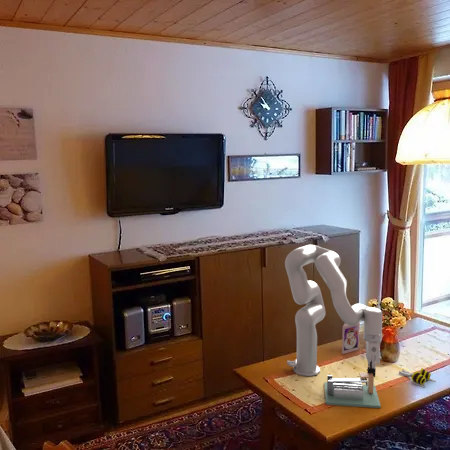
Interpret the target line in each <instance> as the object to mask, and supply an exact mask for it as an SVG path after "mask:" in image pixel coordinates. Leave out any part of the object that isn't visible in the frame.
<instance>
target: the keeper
mask: <svg viewBox="0 0 450 450" xmlns="http://www.w3.org/2000/svg"><path fill="white" fill-rule="evenodd" d="M359 378H367V381H368V392H369V393H373V385H375V384H374V381H375V379H374V378H375V377H374V376H373V373H367V372H363V371H361V372H359Z"/></svg>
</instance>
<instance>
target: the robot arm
mask: <svg viewBox="0 0 450 450" xmlns="http://www.w3.org/2000/svg"><path fill="white" fill-rule="evenodd" d="M284 260H285V261H284V267H285V271H286V273H287V274H286V275H287V277H288V282H289V288H290V290H291V294H292V298H293V301H294V302H295V303H296V304H297V305H300V306H302V305H305V306H303V307H300V309H298V310H297V311H296V314H295V317H294V321H295V322H294V323H295V328H296V358H295V360H287V361H286V365H287V366H289V367H293V368H292V371H293V372H294V373H295V374H297V375H300V376H302V377H303V376H304V377H313V376H317V375H319V374H320V372H321V369H320V367H319V366H318V365H317V363H318V361H317V359H318V356H317V355H318V332H317V328H316V325H317V324H318V323H319V322H321V321H322V320H324V318H325V317H326V308H325V304H324V299H323V296H322V295H323V294H322V291H321V288H320V286H319V284H318V283H316V282H315V281H313V280H308V276H307V273H306V271H305V269H304V268H303V267H305V266H306V265H309V264H312V263H314V265H315V268H316V270H317V271H318V273H319V275H320V276H321V278H322V280H323V281H324V283H325V284H326V286H327V287H328V289H329V291H330V297H331V301H332V304H333V307H334V310H335V312H337V314H338V316H339V318H340V319H341V321H342V322H343V323H344V324H345V323H346V324H347V325H349V326H354V325H356V324H358V323H359V322H360V323H361V322H363V340H364V341H365V357H366V361H367V371H366V373H373V376H374V378H375V377H376V370H377V369H376V366H377V365H380V363H381V360H380V359H381V356H380V355H381V354H380V353H381V352H380V351H381V349H380V343H381V342H382V337H383V335H382V334H383V333H382V332H383V310H381V308H378V307H374V306H373V307H372V306H371V307H370V306H367V305H365V304H363V303H355V304H352V305H351V304H350V302H349V299H348V298H347V287H348V286H347V285H348V281H347V279H346V278H345V276H344V274H343V272H342V271H341V269H340V268H339V267H340V265H341V264H342V263H341V262H342V261H341V257H340V255H339V254H338V253H337V252H335V251H334V250H330V249H328V248H324V247H321V246H319V245H315V244H307V245H304V246H300V247H297V248H295V249H293V250H292V251H290V252H289V253H288V254H287V256H286V258H285V259H284Z"/></svg>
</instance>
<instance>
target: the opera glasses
mask: <svg viewBox="0 0 450 450" xmlns="http://www.w3.org/2000/svg"><path fill="white" fill-rule="evenodd" d="M431 376H432V373H431V372H430V371H428V370H426V369H424V368H423V367H421V368H420V371H415V372H414V373H413V375H412V376H411V379H412V381H416V382H417V383H419V384H420V385H422V386H424V384H425V383H426V380H427V381H430V380H429V379H431ZM412 381H411V382H412Z"/></svg>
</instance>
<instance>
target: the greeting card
mask: <svg viewBox="0 0 450 450" xmlns="http://www.w3.org/2000/svg"><path fill="white" fill-rule="evenodd" d="M360 323H361V322H359V323H358V324H356V325H354V326H349V325H347V324H346V323H344V324H343V325H342V335H341V336H342V339H341V340H342V343H341V345H342V347H341V354H348V353H351V352H355V351H358V350H360V332H361V331H360V329H361V328H360V327H361V325H360Z"/></svg>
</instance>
